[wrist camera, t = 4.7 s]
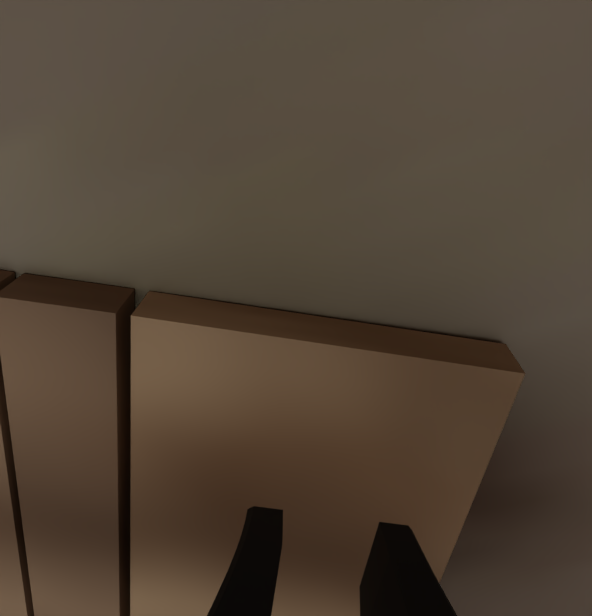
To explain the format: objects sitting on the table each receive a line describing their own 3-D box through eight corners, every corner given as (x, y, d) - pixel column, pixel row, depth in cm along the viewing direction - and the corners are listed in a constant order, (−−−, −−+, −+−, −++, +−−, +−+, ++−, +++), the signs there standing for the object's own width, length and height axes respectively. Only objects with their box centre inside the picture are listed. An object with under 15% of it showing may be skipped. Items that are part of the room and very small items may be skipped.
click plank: (373, 692, 17) (377, 734, 16) (142, 662, 17) (130, 703, 16) (505, 344, 11) (524, 373, 10) (149, 291, 11) (131, 315, 10)
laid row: (132, 661, 17) (120, 702, 16) (-17, 645, 17) (-39, 684, 16) (134, 288, 11) (115, 313, 10) (-99, 255, 11) (-144, 277, 10)
